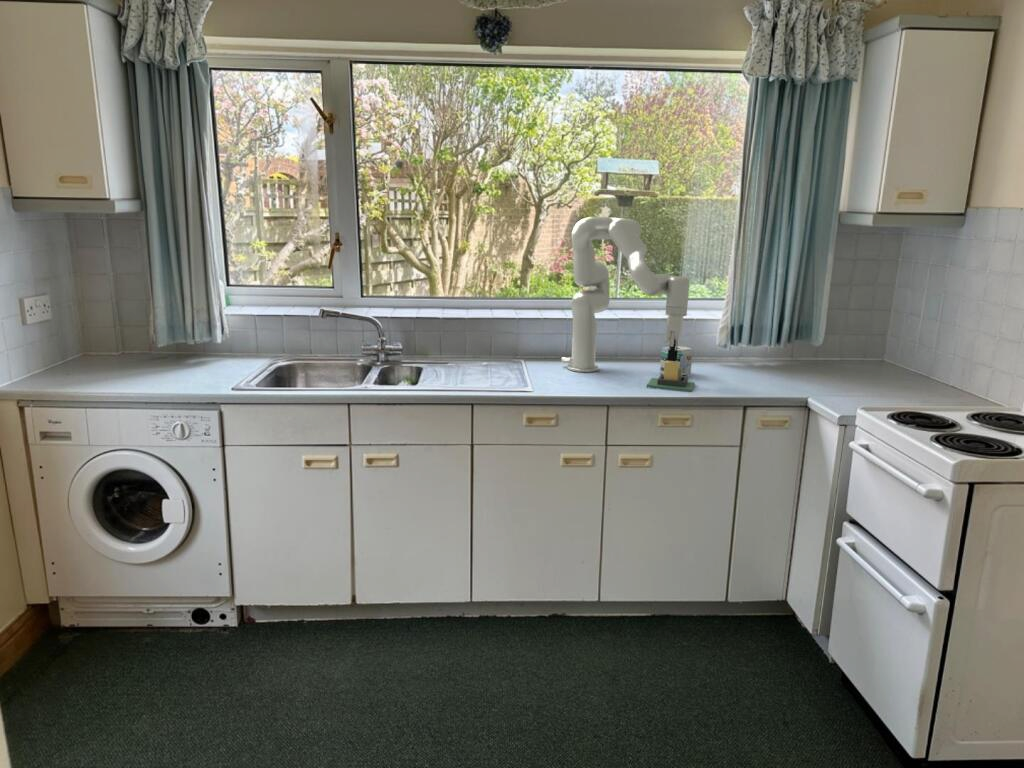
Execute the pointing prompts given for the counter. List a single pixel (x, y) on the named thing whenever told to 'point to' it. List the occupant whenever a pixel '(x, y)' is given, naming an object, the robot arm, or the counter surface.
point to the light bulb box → (678, 359)
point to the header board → (671, 384)
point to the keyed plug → (672, 370)
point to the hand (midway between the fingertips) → (672, 360)
